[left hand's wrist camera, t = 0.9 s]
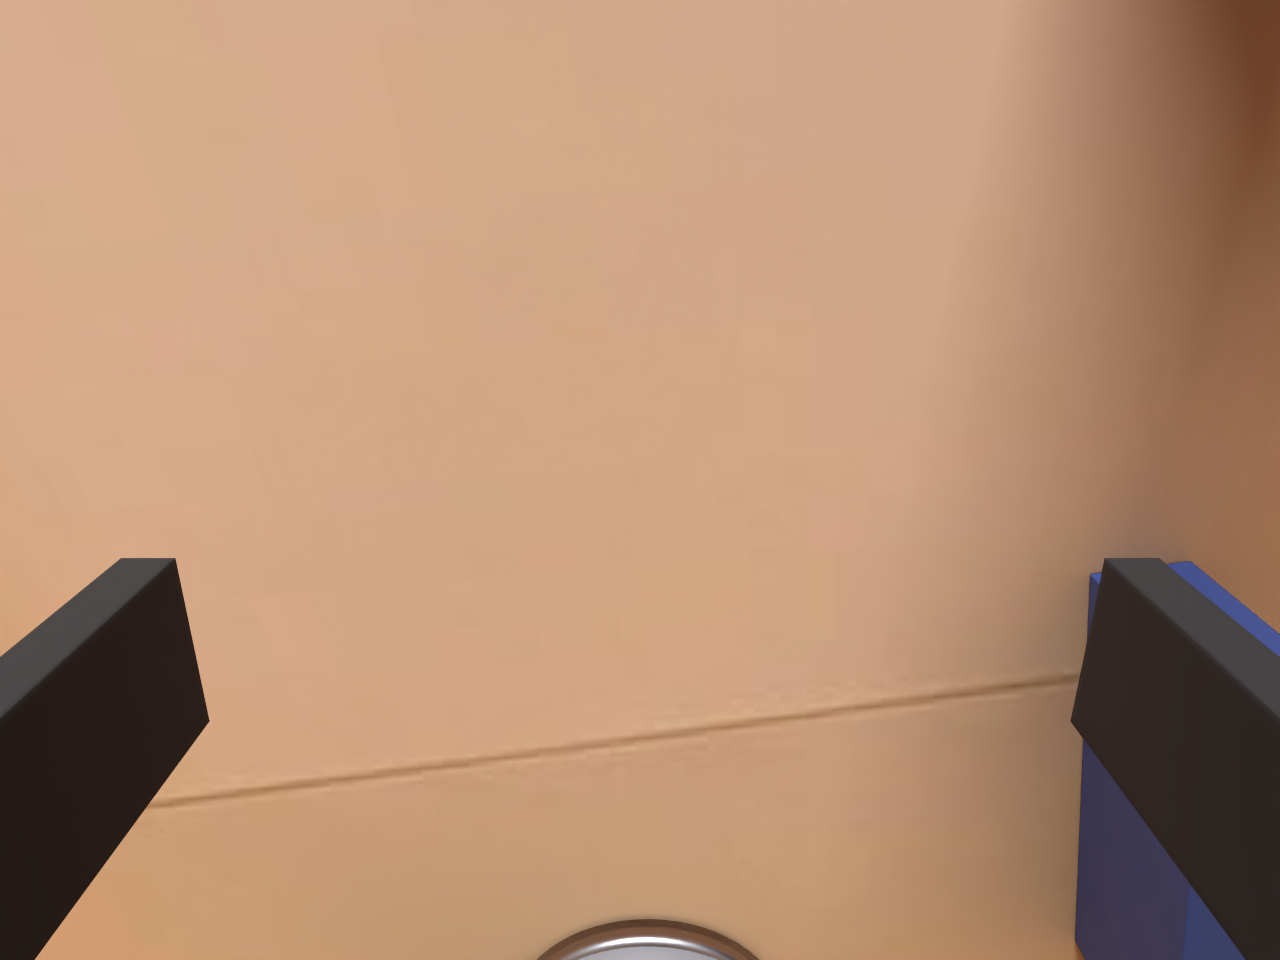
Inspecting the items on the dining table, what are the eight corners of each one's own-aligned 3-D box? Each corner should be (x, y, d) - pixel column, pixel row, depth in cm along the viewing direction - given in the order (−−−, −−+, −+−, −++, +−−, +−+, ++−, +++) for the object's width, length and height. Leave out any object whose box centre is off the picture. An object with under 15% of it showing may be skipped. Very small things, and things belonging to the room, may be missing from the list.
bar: (1157, 931, 48) (1269, 1108, 39) (1074, 940, 48) (1166, 1117, 40) (1191, 560, 39) (1341, 683, 31) (1089, 573, 40) (1210, 698, 31)
